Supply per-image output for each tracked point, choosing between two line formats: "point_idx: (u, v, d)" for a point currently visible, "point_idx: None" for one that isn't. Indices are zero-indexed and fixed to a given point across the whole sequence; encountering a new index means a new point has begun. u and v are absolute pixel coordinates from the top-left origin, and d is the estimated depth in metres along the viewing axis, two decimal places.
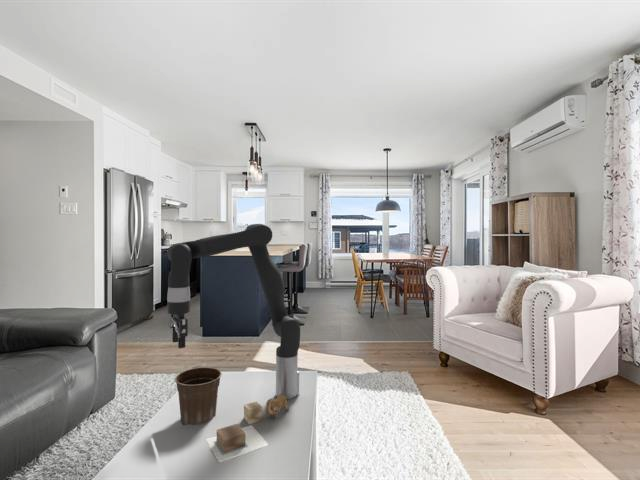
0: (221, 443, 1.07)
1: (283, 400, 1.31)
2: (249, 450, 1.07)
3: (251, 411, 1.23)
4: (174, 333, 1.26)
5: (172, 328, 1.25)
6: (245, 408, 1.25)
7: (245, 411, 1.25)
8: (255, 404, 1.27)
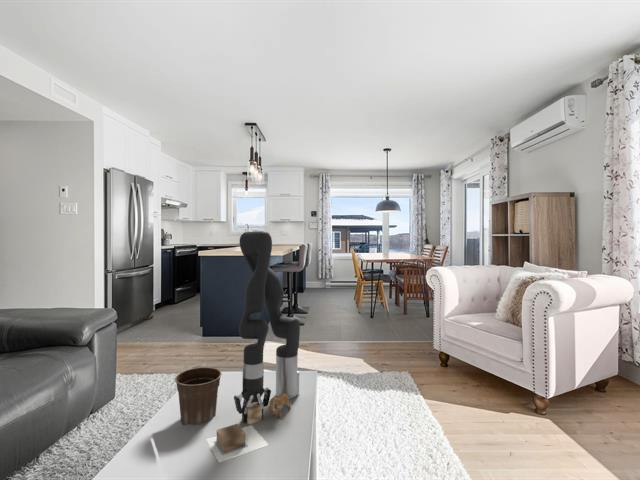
0: (221, 443, 1.07)
1: (286, 398, 1.32)
2: (249, 450, 1.07)
3: (251, 411, 1.22)
4: None
5: (246, 409, 1.23)
6: None
7: None
8: (254, 404, 1.27)
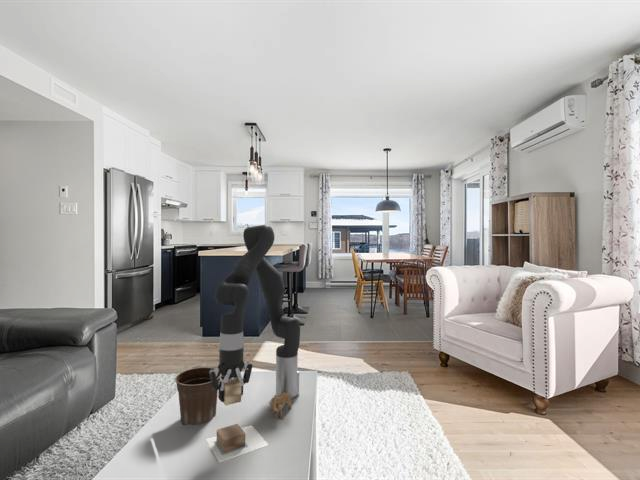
0: (221, 443, 1.07)
1: (286, 397, 1.33)
2: (249, 450, 1.07)
3: (228, 387, 1.07)
4: None
5: (223, 385, 1.08)
6: None
7: None
8: (233, 380, 1.11)
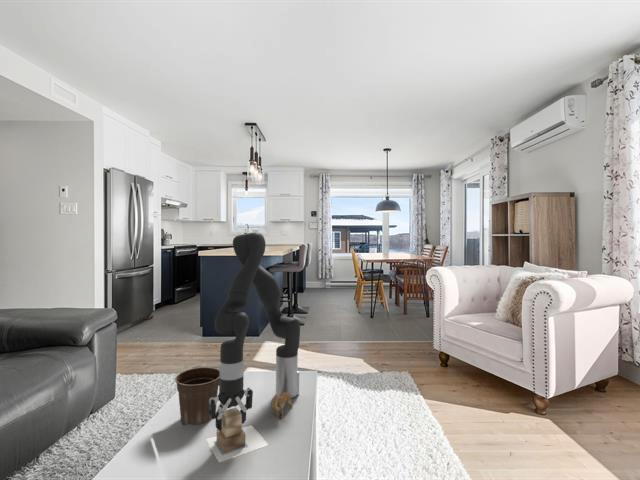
0: (221, 443, 1.07)
1: (287, 396, 1.34)
2: (249, 450, 1.07)
3: (229, 419, 1.07)
4: None
5: (221, 414, 1.07)
6: (222, 415, 1.10)
7: (223, 419, 1.09)
8: (234, 410, 1.11)
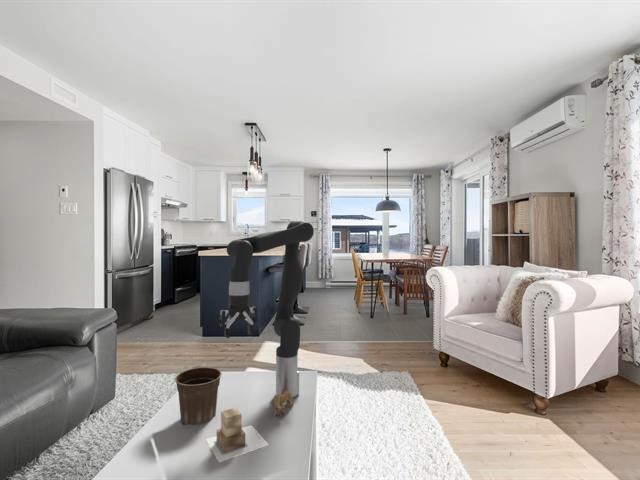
0: (221, 443, 1.07)
1: (289, 395, 1.35)
2: (249, 450, 1.07)
3: (229, 419, 1.07)
4: None
5: (229, 324, 1.26)
6: (222, 415, 1.10)
7: (223, 419, 1.09)
8: (234, 410, 1.11)
